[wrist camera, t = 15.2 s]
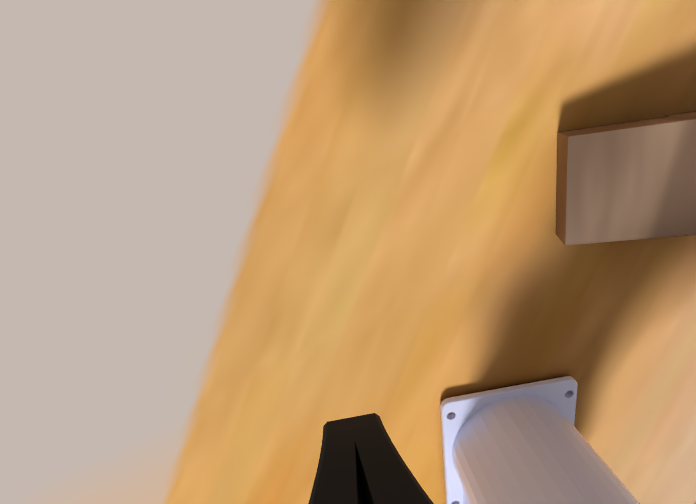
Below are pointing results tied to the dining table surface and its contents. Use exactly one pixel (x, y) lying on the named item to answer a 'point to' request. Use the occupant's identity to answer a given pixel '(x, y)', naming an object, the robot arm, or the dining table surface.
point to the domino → (627, 181)
